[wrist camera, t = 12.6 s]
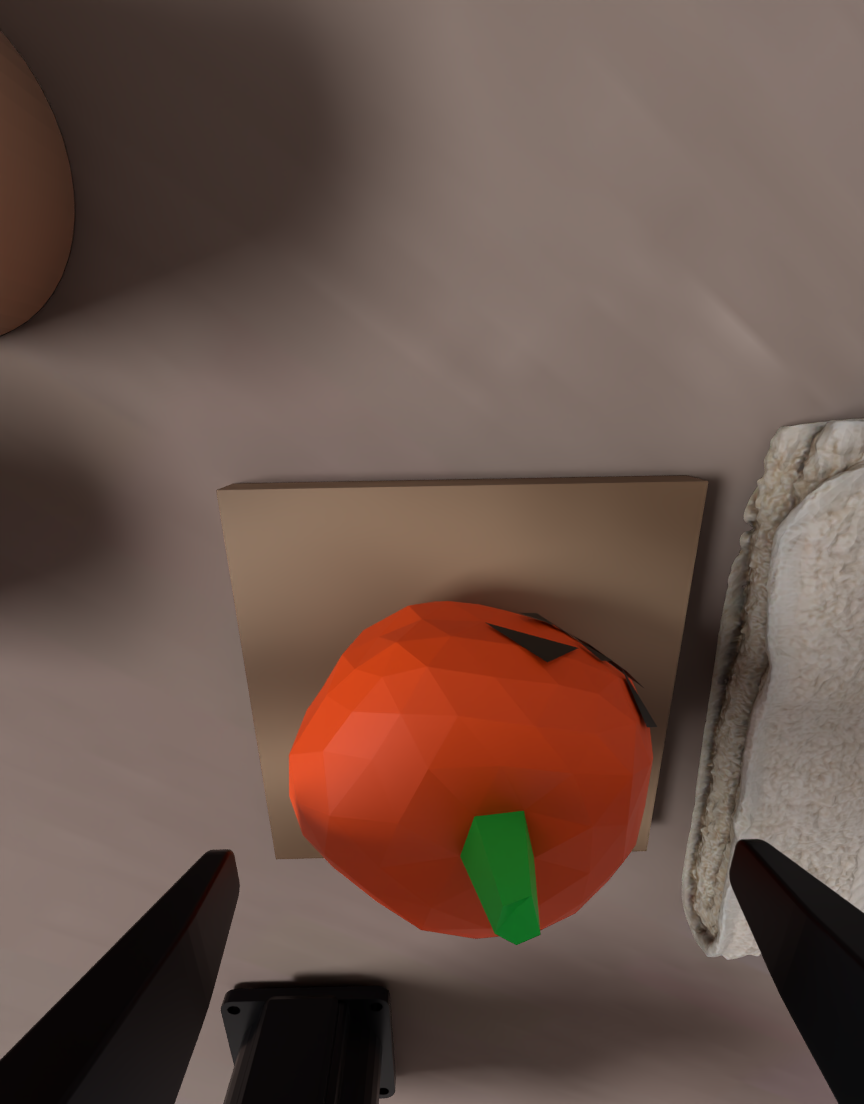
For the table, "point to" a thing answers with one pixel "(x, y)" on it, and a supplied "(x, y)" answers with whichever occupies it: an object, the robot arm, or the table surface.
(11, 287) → the terracotta cup
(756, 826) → the washcloth
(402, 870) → the pumpkin
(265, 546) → the walnut board
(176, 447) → the table surface
